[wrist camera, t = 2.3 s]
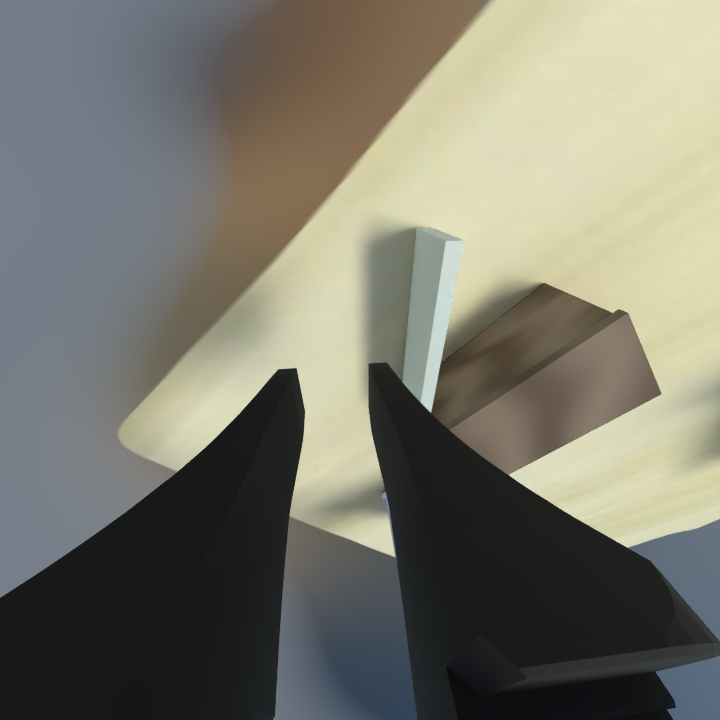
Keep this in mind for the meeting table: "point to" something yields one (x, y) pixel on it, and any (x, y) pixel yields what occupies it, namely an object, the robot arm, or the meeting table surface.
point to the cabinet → (542, 378)
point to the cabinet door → (429, 309)
